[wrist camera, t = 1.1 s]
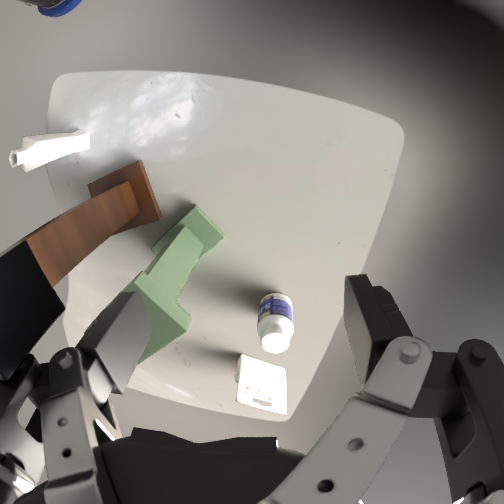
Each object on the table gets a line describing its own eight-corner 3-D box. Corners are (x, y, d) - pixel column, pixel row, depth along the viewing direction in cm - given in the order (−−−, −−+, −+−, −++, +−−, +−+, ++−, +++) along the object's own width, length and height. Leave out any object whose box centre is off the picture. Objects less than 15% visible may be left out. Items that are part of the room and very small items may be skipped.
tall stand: (147, 157, 38) (-53, 259, 9) (168, 215, 42) (23, 383, 13) (86, 185, 40) (-80, 288, 11) (106, 236, 44) (-31, 372, 15)
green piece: (196, 204, 41) (133, 282, 22) (225, 235, 42) (187, 331, 23) (153, 246, 44) (83, 333, 25) (180, 273, 46) (128, 371, 27)
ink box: (280, 375, 54) (279, 423, 44) (236, 360, 53) (228, 409, 43) (287, 366, 53) (288, 415, 42) (242, 351, 52) (235, 400, 41)
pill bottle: (265, 288, 46) (263, 324, 38) (296, 297, 46) (300, 334, 38) (254, 313, 48) (250, 351, 40) (284, 322, 48) (285, 360, 40)
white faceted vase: (67, 151, 38) (0, 172, 24) (74, 125, 36) (5, 138, 22) (88, 159, 38) (21, 183, 25) (95, 132, 37) (27, 147, 23)
